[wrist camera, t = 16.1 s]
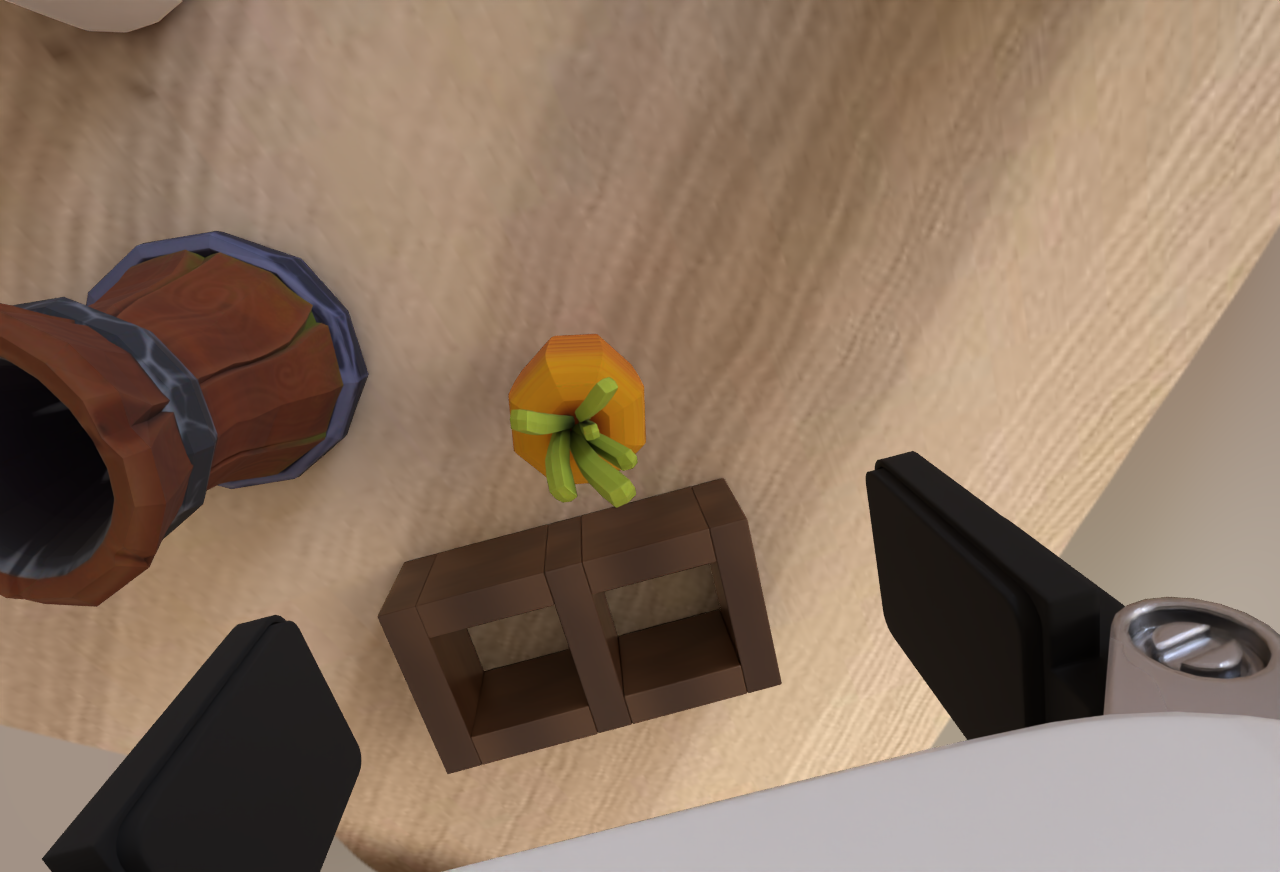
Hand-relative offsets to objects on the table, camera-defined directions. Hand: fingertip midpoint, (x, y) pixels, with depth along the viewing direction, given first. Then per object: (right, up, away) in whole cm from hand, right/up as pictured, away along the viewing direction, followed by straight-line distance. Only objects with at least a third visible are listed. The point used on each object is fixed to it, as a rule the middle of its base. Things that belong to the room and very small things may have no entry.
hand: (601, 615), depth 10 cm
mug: (-21, +7, +20) cm, 30 cm away
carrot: (-2, +7, +22) cm, 23 cm away
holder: (-2, -6, +26) cm, 26 cm away
